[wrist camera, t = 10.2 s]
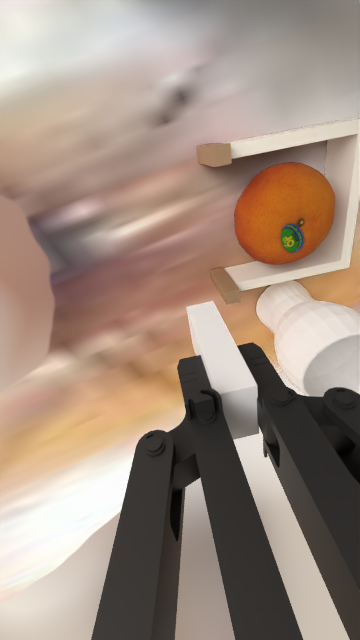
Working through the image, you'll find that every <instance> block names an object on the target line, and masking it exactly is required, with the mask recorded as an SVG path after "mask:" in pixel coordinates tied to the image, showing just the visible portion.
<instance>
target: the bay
mask: <svg viewBox="0 0 360 640" xmlns="http://www.w3.org/2000/svg"><path fill="white" fill-rule="evenodd" d="M324 140H328V142H327V154H326V165H325V176H324V177H325V178H326V179H327V180H328V182H329V183H330V185H331V187H332V189H333V191H334V194H335V214H334V220H333V224H332V226H331V229H330V231H329V233H328V234H327V236H326V237H325V239H324V240H323V241H322V242H321V243H320V244H319V246H318V248H316V249H315V250H314V251H313V252H312V253H311V254H309V255H308V256H306V257H304V258H302V259H300V260H298V261H295V262H291V263H286V264H280V265H271V264H265V263H262V262H259V261H255V262H250V263H245V264H241V265H236V266H231V267H227V268H223V267H220V268H215V269H211V274H212V281H213V283H214V284H215V286H216V287H217V289H218V291H219V292H220V294H221V296H222V297H223V299H224V301H225V302H226V304H232V303H236V302H240V291H244V290H249V289H253V288H258V287H262V286H267V285H272V284H276V283H281V282H285V281H290V280H294V279H299V278H304V277H308V276H313V275H317V274H322V273H326V272H331V271H335V270H340V269H345V268H349V265H350V258H351V251H352V245H353V238H354V232H355V225H356V218H357V212H358V205H359V199H360V118H353V119H344V120H337V121H332V122H327V123H322V124H317V125H312V126H307V127H302V128H297V129H292V130H287V131H282V132H277V133H272V134H266V135H261V136H256V137H251V138H246V139H241V140H236V141H231V142H226V143H210V144H205V145H200V146H197V154H198V162H199V163H201V164H204V165H208V166H212V167H218V166H223V165H228V164H232V160H231V159H234V158H239V157H244V156H249V155H254V154H259V153H264V152H269V151H274V150H279V149H284V148H289V147H294V146H299V145H304V144H309V143H314V142H319V141H324Z"/></svg>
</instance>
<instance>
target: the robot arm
mask: <svg viewBox="0 0 360 640" xmlns="http://www.w3.org/2000/svg"><path fill="white" fill-rule="evenodd" d="M186 309H187V314H188V320H189V326H190V331H191V337H192V343H193V347H194V351H195V354H196V356H193V357H189V358H184V359H180V361H179V364H178V367H177V369H178V374H179V379H180V383H181V388H182V393H183V397H184V402H185V408H186V415H185V418H184V420H183V421H182V423H181V424H180V425H179V426H177V427H176V428H174V429H173V430H171V431H169V432H165V431H162V430H154V431H150V432H148V433H147V434H145V435H144V436H143V437H142V438H141V439H140V440H139V442H138V444H137V446H136V450H135V454H134V459H133V463H132V467H131V471H130V476H129V480H128V484H127V489H126V493H125V497H124V501H123V506H122V510H121V514H120V519H119V523H118V527H117V532H116V536H115V540H114V544H113V549H112V553H111V558H110V562H109V566H108V570H107V575H106V579H105V583H104V587H103V592H102V596H101V600H100V604H99V609H98V613H97V617H96V622H95V626H94V630H93V634H92V639H91V640H175V627H176V613H177V599H178V585H179V570H180V556H181V541H182V528H183V513H184V499H185V487H186V486H188V485H189V484H191V483H192V482H194V481H196V480H197V479H199V478H200V477H201V482H202V487H203V491H204V496H205V501H206V505H207V510H208V515H209V519H210V524H211V528H212V533H213V538H214V542H215V547H216V552H217V556H218V561H219V566H220V570H221V575H222V579H223V584H224V589H225V594H226V598H227V603H228V608H229V612H230V617H231V622H232V626H233V631H234V635H235V640H303V638H302V635H301V632H300V629H299V626H298V624H297V621H296V618H295V615H294V612H293V609H292V606H291V603H290V601H289V598H288V595H287V592H286V589H285V587H284V584H283V581H282V578H281V575H280V572H279V570H278V567H277V564H276V561H275V558H274V555H273V552H272V549H271V547H270V544H269V541H268V538H267V535H266V532H265V530H264V527H263V524H262V521H261V518H260V515H259V512H258V510H257V507H256V504H255V501H254V498H253V496H252V493H251V490H250V487H249V484H248V481H247V478H246V476H245V473H244V470H243V467H242V464H241V461H240V459H239V456H238V453H237V450H236V447H235V444H234V441H233V439H237V438H242V437H246V436H250V435H254V434H258V433H259V427H260V429H261V431H262V434H263V451H264V456H265V457H267V453H268V455H269V457H270V460H271V462H272V464H273V466H274V469H275V471H276V473H277V476H278V478H279V480H280V482H281V484H282V487H283V489H284V491H285V494H286V496H287V498H288V501H289V503H290V505H291V507H292V510H293V512H294V514H295V516H296V519H297V521H298V523H299V526H300V528H301V530H302V532H303V534H304V537H305V539H306V541H307V544H308V546H309V548H310V550H311V553H312V555H313V557H314V560H315V562H316V564H317V566H318V568H319V571H320V573H321V575H322V578H323V580H324V582H325V584H326V587H327V589H328V591H329V593H330V596H331V598H332V600H333V603H334V605H335V607H336V609H337V612H338V614H339V616H340V618H341V621H342V623H343V625H344V628H345V630H346V632H347V634H348V636H349V639H350V640H360V394H358V393H356V392H355V391H353V390H351V389H347V388H344V387H334V388H330V389H328V390H327V391H326V392H325V393H324V396H323V397H316V396H303V395H299V394H297V393H296V392H295V391H294V390H292V389H290V388H288V387H286V386H285V384H284V383H283V381H282V380H281V378H280V377H279V375H278V373H277V372H276V370H275V369H274V367H273V366H272V364H271V363H270V361H269V359H268V358H267V357H266V355H265V353H264V352H263V350H262V348H260V347H259V346H257V345H256V344H254V343H253V342H252V343H248V344H243V345H239V346H236V344H235V342H234V340H233V338H232V336H231V334H230V332H229V330H228V328H227V327H226V325H225V323H224V321H223V319H222V317H221V315H220V313H219V311H218V310H217V308H216V306H215V304H214V302H213V301H210V302H206V303H201V304H197V305H192V306H188V307H186Z"/></svg>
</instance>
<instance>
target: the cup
mask: <svg viewBox="0 0 360 640" xmlns="http://www.w3.org/2000/svg"><path fill="white" fill-rule="evenodd" d="M256 312H257V316H258V318H259V320H260V321H261V322H262V323H263V324H264V325H265V326H267V327H268V328H269V329H270V330H272V331H273V333H274V335H275V340H274V345H275V351H276V356H277V360H278V364H279V366H280V368H281V369H282V371H283V372H284V374H285V375H286V377H287V378H288V380H289V381H290V383H291V384H293V385H294V386H295V387H296V388H297V389H298V390H300V391H301V392H302V393H303V394H304V395H305V396H316V397H323V396H324V393H325V392H326V391H327V390H328V389H330V388H334V387H344V388H347V389H351V390H353V391H355V392H356V393H358V394H359V393H360V314H359V313H358V312H356V311H355V310H353V309H351V308H349V307H347V306H343V305H340V304H336V303H333V302H327V301H317V300H315V299H313V298H312V297H311V295H310V294H309V293H308V291H307V290H306V289H305V288H304V287H303V286H302V285H301V284H300V283H299V282H297V281H294V280H290V281H285V282H281V283H276V284H272V285H271V286H269V287H268V288H267V289H266V290H265V291H264V292H263V293H262V294H261V296H260V297H259V299H258V302H257V306H256Z"/></svg>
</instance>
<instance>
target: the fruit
mask: <svg viewBox="0 0 360 640" xmlns="http://www.w3.org/2000/svg"><path fill="white" fill-rule="evenodd" d="M334 214H335V194H334V191H333V189H332V187H331V185H330V183H329V182H328V180H327V179H326V178H325V177H324V176H323V175H322V174H321V173H320V172H319V171H317V170H315V169H313V168H312V167H310V166H307V165H305V164H302V163H295V162H290V163H284V164H278V165H274V166H271V167H269V168H267V169H265V170H263V171H262V172H260V173H259V174H257V175H256V176H255V177H254V178H253V179H252V180H251V182H250V183H249V184H248V186H247V187H246V189H245V190H244V192H243V194H242V195H241V197H240V198H239V200H238V202H237V205H236V208H235V214H234V217H235V233H236V236H237V239H238V241H239V243H240V245H241V246H242V247H243V249H244V250H245V251H246V252H247V253H248V254H249V255H250V256H251V257H252V258H254V259H256V260H257V261H259V262H262V263H265V264H271V265H280V264H286V263H291V262H295V261H298V260H300V259H302V258H304V257H306V256H308V255H309V254H311V253H312V252H313V251H314V250H315V249H316V248H317V247H318V246H319V244H320V243H321V242H322V241H323V240H324V239H325V237H326V236H327V234H328V233H329V231H330V229H331V226H332V224H333V220H334Z"/></svg>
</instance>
